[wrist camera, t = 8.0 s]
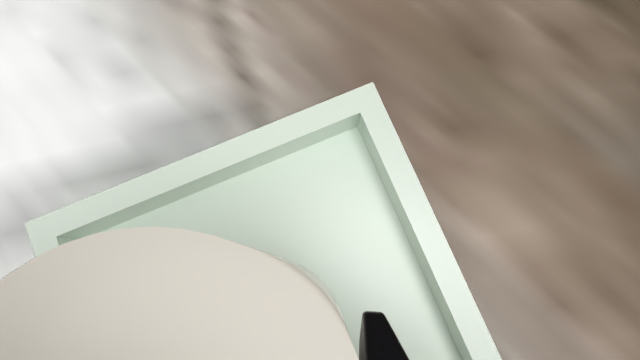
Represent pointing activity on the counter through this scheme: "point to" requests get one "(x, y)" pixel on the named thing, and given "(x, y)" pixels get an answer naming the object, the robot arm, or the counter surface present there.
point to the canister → (167, 302)
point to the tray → (311, 219)
